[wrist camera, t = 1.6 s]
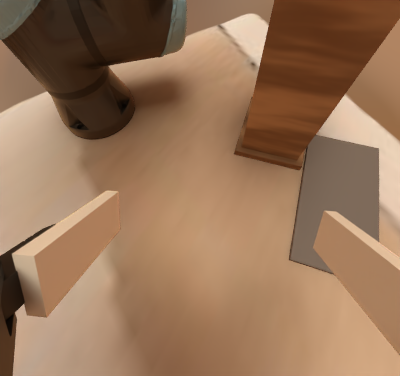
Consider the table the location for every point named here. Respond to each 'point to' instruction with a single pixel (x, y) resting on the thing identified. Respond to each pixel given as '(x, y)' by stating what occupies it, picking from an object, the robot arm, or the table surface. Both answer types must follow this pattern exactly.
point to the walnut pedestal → (309, 71)
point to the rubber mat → (335, 193)
